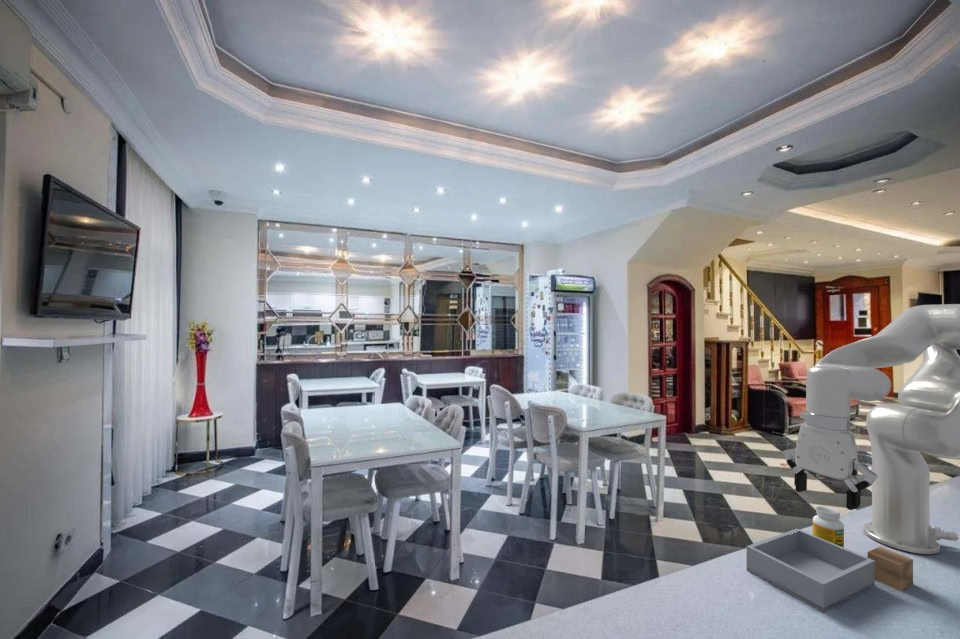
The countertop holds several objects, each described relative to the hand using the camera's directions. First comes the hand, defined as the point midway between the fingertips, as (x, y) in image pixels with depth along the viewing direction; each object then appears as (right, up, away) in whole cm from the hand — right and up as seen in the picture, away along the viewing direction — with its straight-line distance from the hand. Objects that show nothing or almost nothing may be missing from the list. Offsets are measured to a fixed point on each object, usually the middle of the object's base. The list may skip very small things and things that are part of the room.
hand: (825, 499), depth 92 cm
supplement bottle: (+1, -12, 0) cm, 12 cm away
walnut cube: (+5, -12, -9) cm, 16 cm away
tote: (-11, -12, -9) cm, 18 cm away
